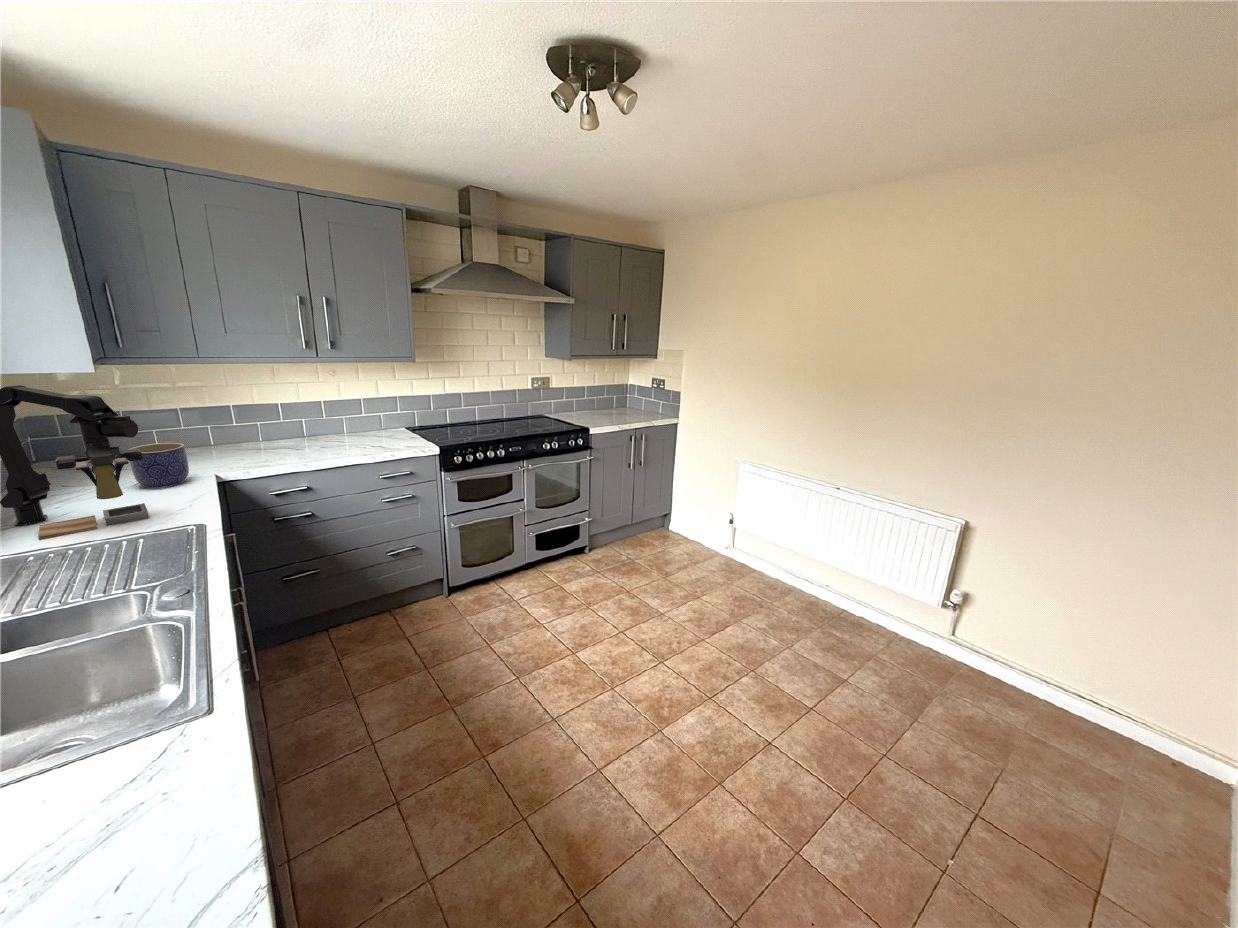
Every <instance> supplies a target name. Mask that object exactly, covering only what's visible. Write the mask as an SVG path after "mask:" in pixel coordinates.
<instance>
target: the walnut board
mask: <svg viewBox="0 0 1238 928" xmlns="http://www.w3.org/2000/svg"><path fill="white" fill-rule="evenodd" d="M94 530H98V524H97V517H96V515H94V514H93V515H90V516H89V515H88V516H84V517H78V518H71V519H66V520H62V521H61V520H60V521H55V522H50V523H44V524H39V525H38V536H37V537H38V540H39V541H41V540H46V539H51V538H57V537H64V536H67V535H73V534H77V533H84V532H88V531H94Z"/></svg>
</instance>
